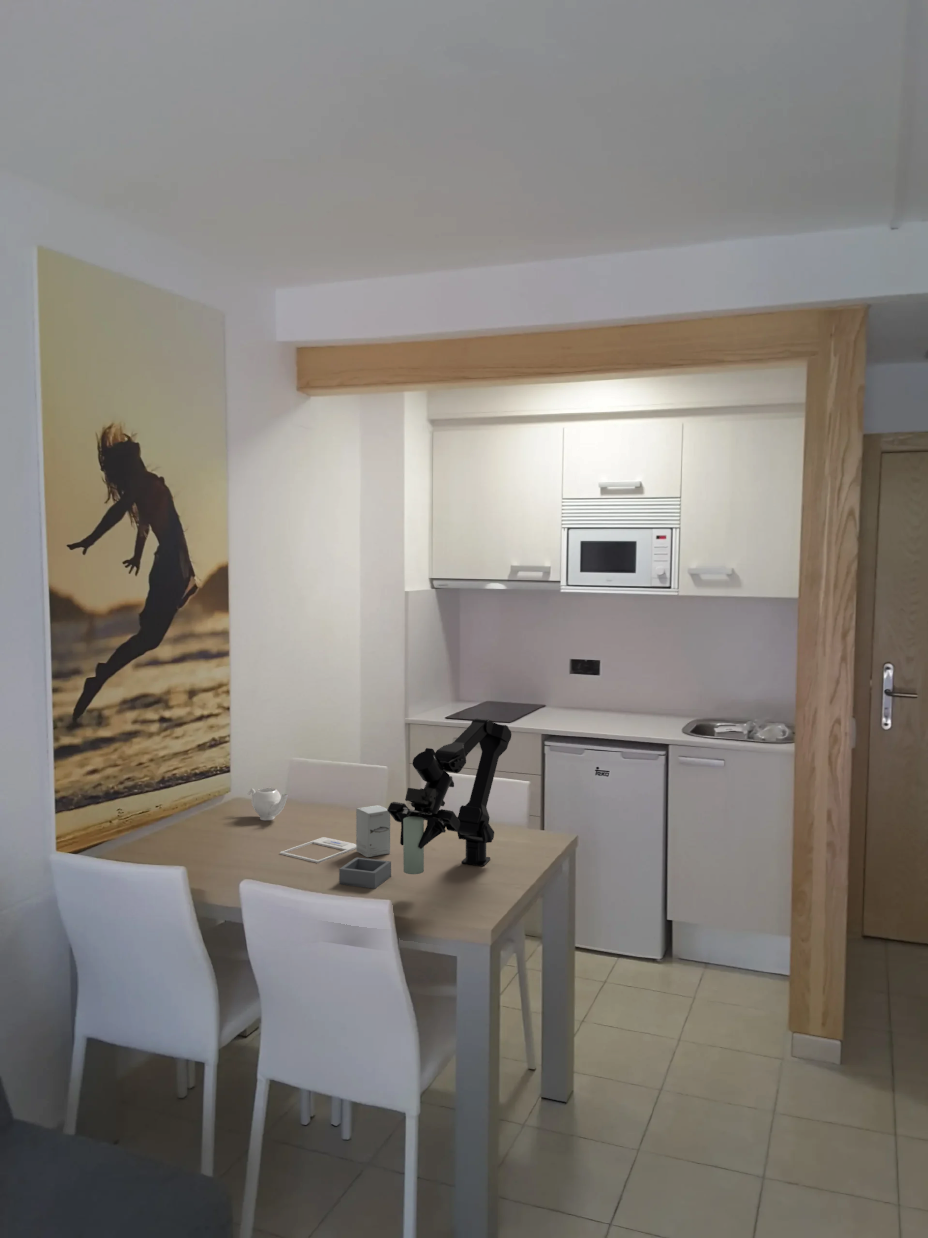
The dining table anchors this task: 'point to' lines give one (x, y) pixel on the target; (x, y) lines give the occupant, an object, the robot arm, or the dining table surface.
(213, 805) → the dining table surface
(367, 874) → the gray square tray
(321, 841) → the photo frame
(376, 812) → the supplement box
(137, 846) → the dining table surface
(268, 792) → the teapot
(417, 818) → the sage peg
